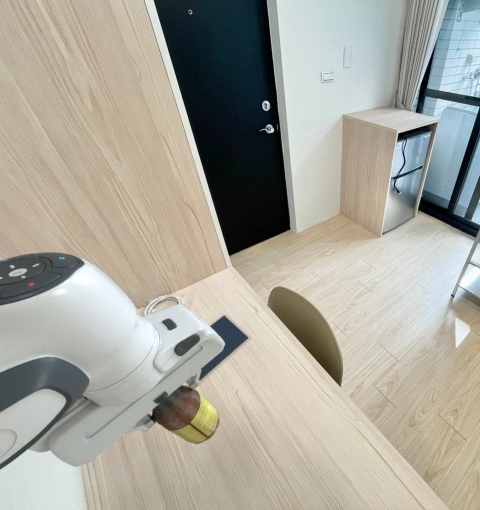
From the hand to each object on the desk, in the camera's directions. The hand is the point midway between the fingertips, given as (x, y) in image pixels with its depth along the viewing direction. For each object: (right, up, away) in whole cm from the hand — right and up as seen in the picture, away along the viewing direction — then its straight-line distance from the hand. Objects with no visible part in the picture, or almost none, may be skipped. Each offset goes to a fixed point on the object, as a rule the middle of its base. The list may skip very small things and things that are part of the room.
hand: (173, 402), depth 42 cm
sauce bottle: (0, -10, +9) cm, 13 cm away
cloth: (-11, -3, +35) cm, 37 cm away
